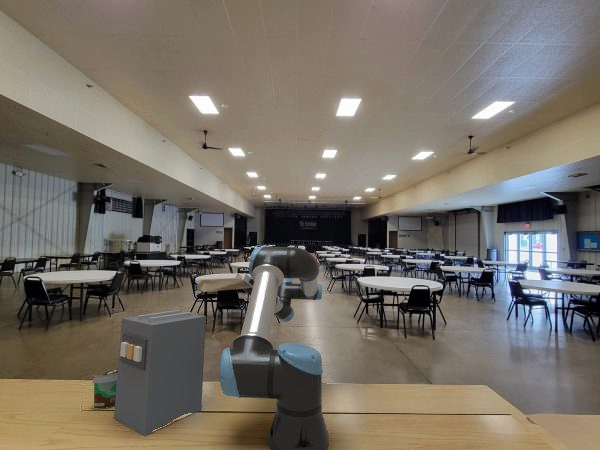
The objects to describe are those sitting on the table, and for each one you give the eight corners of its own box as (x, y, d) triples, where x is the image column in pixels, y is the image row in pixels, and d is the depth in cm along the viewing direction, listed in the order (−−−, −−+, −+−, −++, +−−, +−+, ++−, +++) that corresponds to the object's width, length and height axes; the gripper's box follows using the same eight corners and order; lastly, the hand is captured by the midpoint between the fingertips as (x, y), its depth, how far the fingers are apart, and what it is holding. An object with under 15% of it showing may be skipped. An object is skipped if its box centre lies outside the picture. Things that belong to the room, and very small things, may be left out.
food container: (107, 413, 93) (110, 377, 94) (89, 410, 94) (92, 376, 95) (136, 396, 105) (138, 364, 106) (120, 394, 106) (123, 363, 107)
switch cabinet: (201, 409, 96) (206, 313, 99) (139, 438, 80) (148, 322, 83) (169, 396, 105) (175, 308, 108) (108, 420, 89) (117, 315, 92)
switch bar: (255, 287, 128) (256, 277, 129) (204, 291, 107) (205, 279, 107) (248, 286, 130) (249, 277, 131) (197, 291, 109) (197, 279, 109)
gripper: (283, 311, 132) (252, 285, 117) (253, 307, 142) (220, 283, 126) (289, 295, 136) (259, 268, 121) (259, 292, 146) (228, 267, 130)
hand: (239, 276), depth 124 cm, fingers closed on switch bar, 4 cm apart
